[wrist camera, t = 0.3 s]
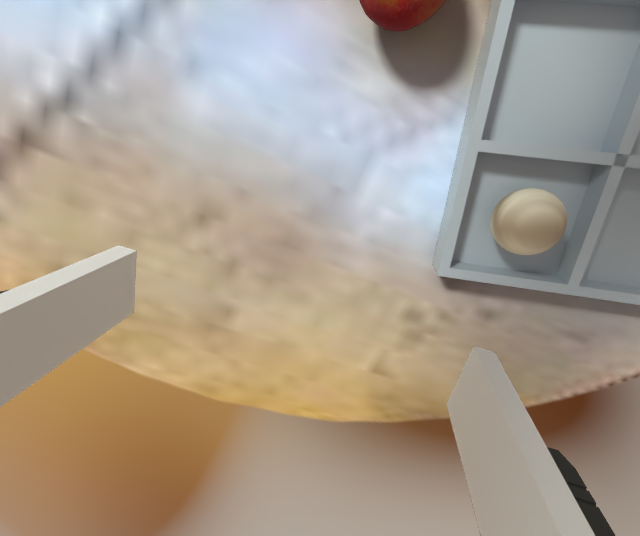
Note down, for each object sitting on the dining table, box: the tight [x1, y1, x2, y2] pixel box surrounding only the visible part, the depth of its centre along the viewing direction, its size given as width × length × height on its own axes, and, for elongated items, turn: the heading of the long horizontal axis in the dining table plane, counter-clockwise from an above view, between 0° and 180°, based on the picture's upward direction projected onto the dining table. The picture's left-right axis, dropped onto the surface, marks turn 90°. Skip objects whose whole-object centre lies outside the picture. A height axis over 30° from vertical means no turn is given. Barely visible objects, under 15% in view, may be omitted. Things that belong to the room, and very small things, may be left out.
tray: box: [432, 0, 640, 305], centre depth 31 cm, size 25×25×4 cm
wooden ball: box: [490, 188, 567, 255], centre depth 32 cm, size 6×6×6 cm
